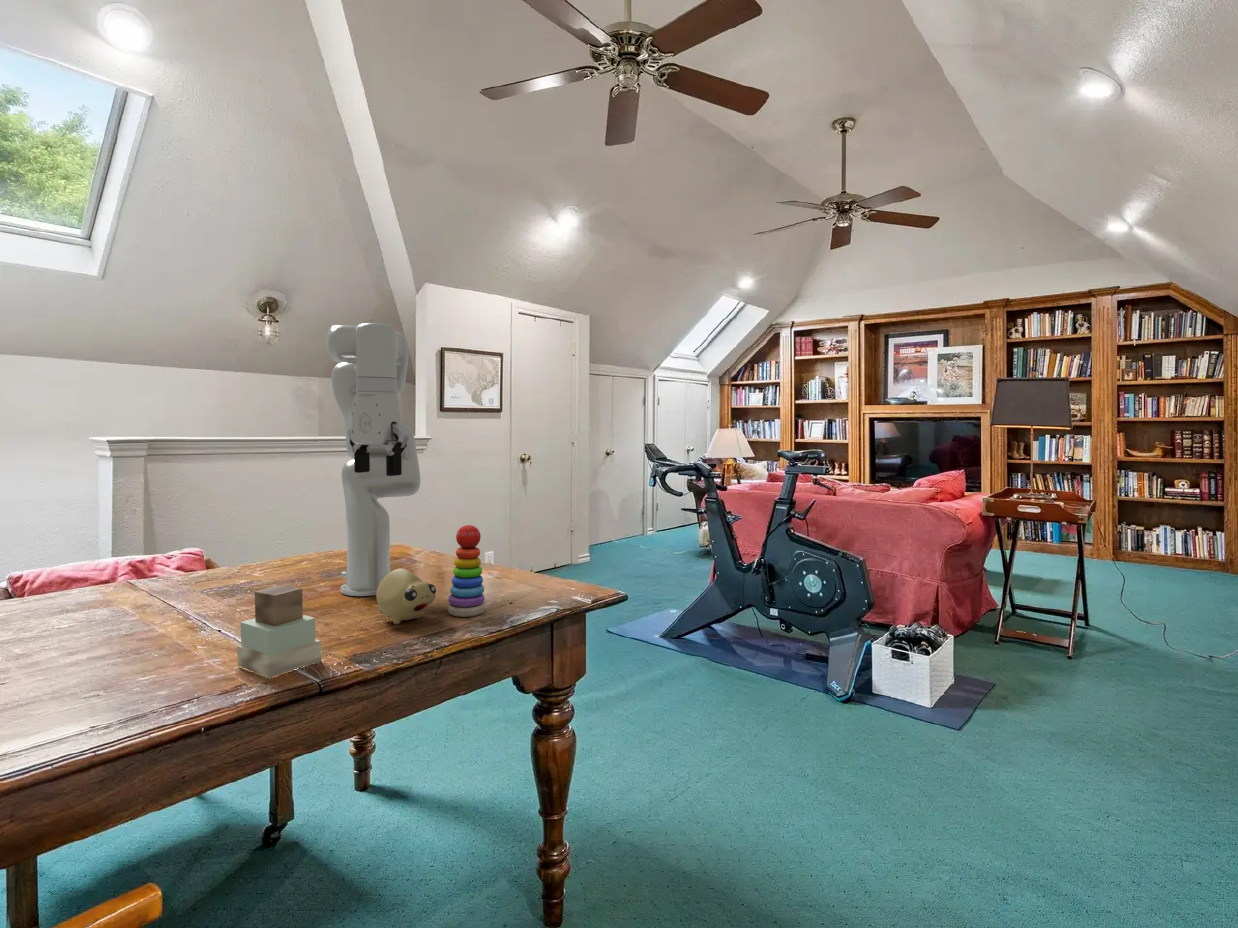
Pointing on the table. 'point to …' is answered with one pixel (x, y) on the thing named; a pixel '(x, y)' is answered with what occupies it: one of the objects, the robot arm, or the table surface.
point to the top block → (277, 635)
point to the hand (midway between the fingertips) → (377, 473)
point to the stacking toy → (467, 576)
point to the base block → (279, 659)
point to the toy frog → (403, 595)
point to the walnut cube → (278, 605)
